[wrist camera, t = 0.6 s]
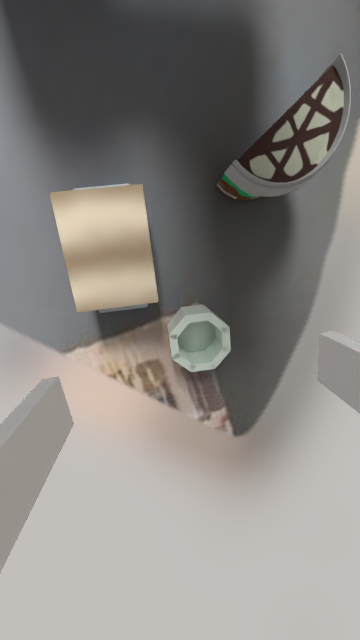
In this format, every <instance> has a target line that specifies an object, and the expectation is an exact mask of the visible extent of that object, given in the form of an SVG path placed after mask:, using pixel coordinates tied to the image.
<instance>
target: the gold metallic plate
mask: <svg viewBox="0 0 360 640" xmlns="http://www.w3.org/2000/svg"><path fill="white" fill-rule="evenodd" d="M50 198H51V202H52V206H53V210H54V215H55V219H56V223H57V228H58V232H59V236H60V240H61V245H62V249H63V253H64V257H65V262H66V266H67V270H68V275H69V279H70V283H71V287H72V292H73V296H74V300H75V304H76V309H77V312H85V311H93V310H101V309H108V308H116V307H124V306H132V305H140V304H148V303H156V302H158V292H157V285H156V277H155V270H154V263H153V255H152V248H151V241H150V233H149V226H148V218H147V211H146V204H145V196H144V190H143V185H142V184H136V185H126V186H115V187H104V188H93V189H82V190H72V191H61V192H50Z"/></svg>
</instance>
